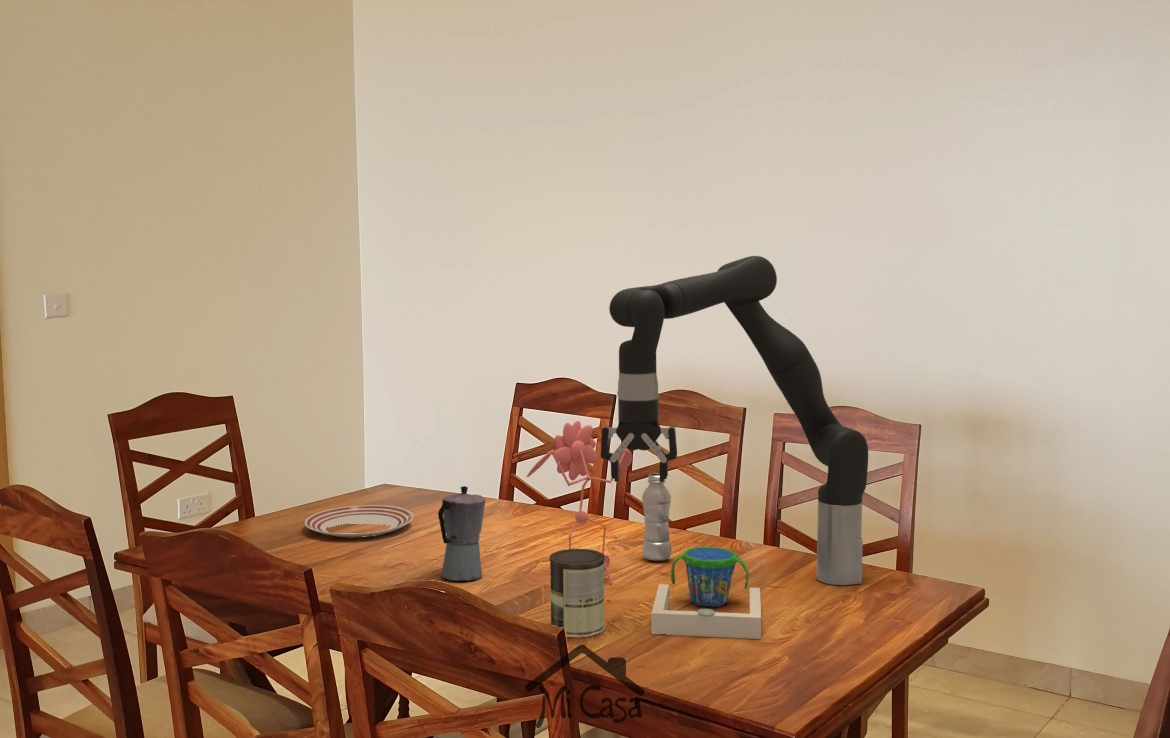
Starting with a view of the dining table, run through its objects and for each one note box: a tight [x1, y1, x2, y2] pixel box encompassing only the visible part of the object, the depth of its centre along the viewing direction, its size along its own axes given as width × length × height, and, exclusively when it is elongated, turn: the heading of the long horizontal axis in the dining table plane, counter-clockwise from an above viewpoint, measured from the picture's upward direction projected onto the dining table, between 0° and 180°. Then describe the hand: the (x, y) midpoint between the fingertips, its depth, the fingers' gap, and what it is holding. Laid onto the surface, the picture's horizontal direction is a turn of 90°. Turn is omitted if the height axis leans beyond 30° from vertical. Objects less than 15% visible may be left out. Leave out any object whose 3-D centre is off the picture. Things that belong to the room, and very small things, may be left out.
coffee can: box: [549, 548, 606, 639], centre depth 205 cm, size 10×10×14 cm
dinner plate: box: [304, 504, 415, 538], centre depth 281 cm, size 27×27×3 cm
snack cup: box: [670, 546, 750, 608], centre depth 220 cm, size 16×10×10 cm
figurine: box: [526, 420, 635, 586], centre depth 233 cm, size 15×26×35 cm, turn 131°
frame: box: [650, 583, 762, 640], centre depth 210 cm, size 20×19×4 cm
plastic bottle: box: [641, 472, 672, 562], centre depth 250 cm, size 6×7×20 cm
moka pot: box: [437, 485, 486, 582], centre depth 238 cm, size 10×15×20 cm, turn 155°
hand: (639, 481), depth 207 cm, fingers open, 8 cm apart
